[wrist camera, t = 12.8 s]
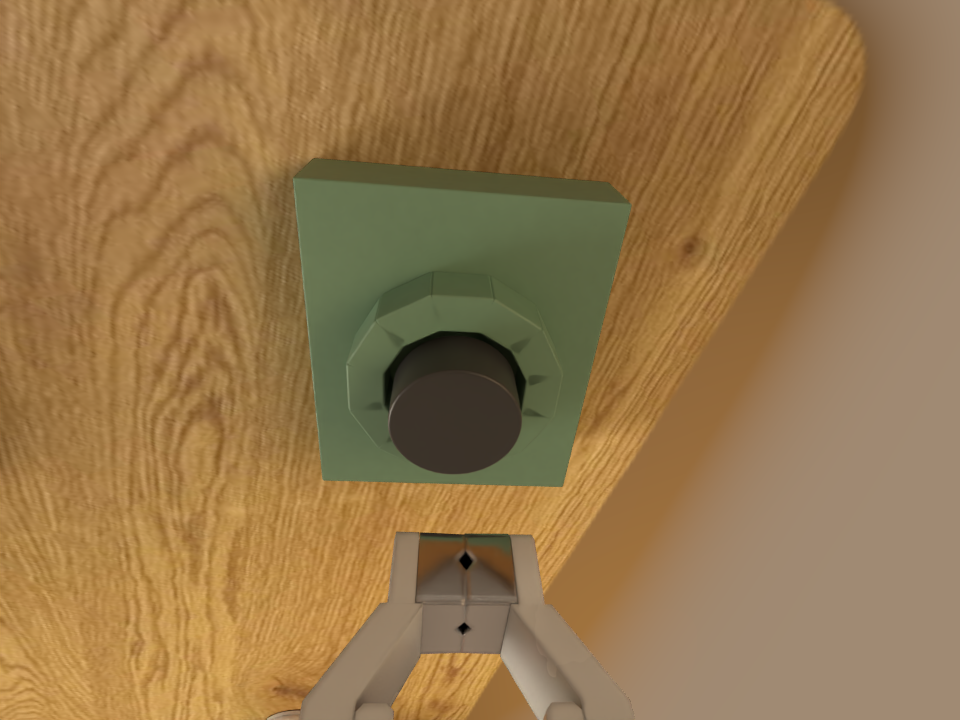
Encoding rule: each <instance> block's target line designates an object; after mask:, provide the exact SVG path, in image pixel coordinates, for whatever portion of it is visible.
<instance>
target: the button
mask: <svg viewBox="0 0 960 720" xmlns="http://www.w3.org/2000/svg"><path fill="white" fill-rule="evenodd" d="M521 427H522V414H521V408H520V403H519V398H518V393H517V387H516V382H515V377H514V373H513V370H512V368H511V366H510V364H509V363H508V361H507V359H506V358H505V357H504V356H503V355H502V354H501V353H500V352H499V351H498V350H497V349H495V348H494V347H492V346H491V345H489V344H487V343H485V342H483V341H481V340H478V339H475V338H471V337H466V336H444V337H439V338H435V339H432V340H429V341H426V342H424V343H422V344H421V345H419V346H417V347H416V348H414V349H413V350H412V351H411V352H409V353H408V354H407V355H406V356H405V358H404V359H403V360H402V361H401V363H400V365H399V366H398V368H397V371H396V373H395V377H394V382H393V388H392V395H391V401H390V407H389V413H388V430H389V434H390V437H391V439H392V441H393V444H394V445H395V447H396V448H397V450H398V451H399V452H400V453H401V454H402V455H403V456H404V457H405V458H406V459H407V460H409V461H410V462H412V463H413V464H415V465H417V466H419V467H420V468H423V469H425V470H428V471H432V472H435V473H441V474H451V475H453V474H467V473H472V472H476V471H479V470H483V469H485V468H487V467H490V466H491V465H493V464H495V463H497V462H498V461H500V460H501V459H502V458H503V457H505V456H506V455H507V454H508V453H509V452H510V450H511V449H512V448H513V446H514V445H515V443H516V442H517V439H518V437H519V435H520V431H521Z"/></svg>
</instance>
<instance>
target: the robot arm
mask: <svg viewBox="0 0 960 720" xmlns="http://www.w3.org/2000/svg"><path fill="white" fill-rule="evenodd" d="M419 535H420V540H419ZM460 652H461V653H482V654H500V657H501V658H502V660H503V662H504V664H505V665H506V667H507V669H508V670H509V672H510V673H511V675H512V677H513V679H514V680H515V682H516V684H517V685H518V687H519V689H520V690H521V692H522V694H523V695H524V697H525V699H526V701H527V702H528V704H529V705H530V707H531V709H532V711H533V712H534V714H535V716H536V717H537V719H538V720H635V717H634V713H633V709H632V705H631V701H630V699H629V698H628V697H627V696H626V694H625V693H624V692H623V691H622V690H621V688H620V687H619V686H618V685H617V683H616V682H615V681H614V680H613V679H612V678H611V676H610V675H609V674H608V673H607V671H606V670H605V669H604V668H603V667H602V665H601V664H600V663H599V662H598V660H597V659H596V658H595V657H594V656H593V654H592V653H591V652H590V651H589V649H588V648H587V647H586V646H585V645H584V644H583V642H582V641H581V640H580V639H579V638H578V636H577V635H576V634H575V633H574V631H573V630H572V629H571V628H570V626H569V625H568V624H567V623H566V622H565V620H564V619H563V618H562V617H561V616H560V614H559V613H558V612H557V611H556V610H555V608H554V607H553V606H552V605H549V604H545V603H544V597H543V591H542V584H541V578H540V572H539V566H538V560H537V554H536V548H535V541H534V538H533V537H532V535H508V534H464V535H461V534H441V533H419V532H396V535H395V539H394V548H393V557H392V566H391V575H390V584H389V593H388V602H387V603H380V604H379V605H378V607H377V608H376V609H375V610H374V612H373V613H372V614H371V615H370V617H369V618H368V619H367V620H366V622H365V623H364V624H363V626H362V627H361V628H360V629H359V631H358V632H357V633H356V634H355V636H354V637H353V638H352V639H351V641H350V642H349V643H348V644H347V646H346V647H345V648H344V649H343V651H342V652H341V653H340V655H339V656H338V657H337V658H336V660H335V661H334V662H333V663H332V665H331V666H330V667H329V668H328V670H327V671H326V672H325V673H324V675H323V676H322V677H321V679H320V680H319V681H318V682H317V684H316V685H315V686H314V687H313V689H312V690H311V691H310V692H309V694H308V695H307V696H306V697H305V699H304V700H303V702H302V706H301V710H300V715H299V719H298V720H394V711H393V710H392V709H391V705H392V704H393V702H394V700H395V699H396V697H397V695H398V694H399V692H400V690H401V689H402V687H403V685H404V683H405V682H406V680H407V678H408V677H409V675H410V673H411V672H412V670H413V668H414V667H415V665H416V663H417V662H418V660H419V658H420V654H437V653H460Z"/></svg>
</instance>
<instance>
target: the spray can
mask: <svg viewBox="0 0 960 720" xmlns="http://www.w3.org/2000/svg"><path fill="white" fill-rule="evenodd" d="M299 715H300V710H297V711H286V712H281V713H277V714H275V715H272V716H271V717H269V718H268V719H267V720H298V719H299Z"/></svg>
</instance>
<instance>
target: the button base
mask: <svg viewBox="0 0 960 720" xmlns="http://www.w3.org/2000/svg"><path fill="white" fill-rule="evenodd" d="M293 186H294V196H295V206H296V217H297V227H298V237H299V247H300V257H301V267H302V277H303V287H304V297H305V307H306V317H307V327H308V338H309V348H310V358H311V368H312V378H313V388H314V398H315V408H316V418H317V428H318V438H319V449H320V459H321V469H322V479H323V480H331V481H367V482H403V483H439V484H475V485H511V486H547V487H563V484H564V479H565V475H566V471H567V467H568V463H569V459H570V455H571V451H572V447H573V443H574V439H575V435H576V430H577V426H578V422H579V418H580V414H581V410H582V406H583V402H584V398H585V394H586V390H587V386H588V381H589V377H590V373H591V369H592V365H593V361H594V357H595V353H596V349H597V345H598V341H599V337H600V332H601V328H602V324H603V320H604V316H605V312H606V308H607V304H608V300H609V296H610V292H611V288H612V283H613V279H614V275H615V271H616V267H617V263H618V259H619V255H620V251H621V247H622V243H623V239H624V234H625V230H626V226H627V222H628V218H629V214H630V210H631V206H632V205H631V203H630V202H629V201H628V200H627V199H625V198H624V197H623V196H622V195H621V194H620V193H619V192H618V191H617V190H616V189H615V188H614V187H613V186H612V185H611V184H610V183H608V182H597V181H585V180H573V179H561V178H549V177H537V176H524V175H512V174H500V173H488V172H476V171H464V170H452V169H440V168H428V167H415V166H403V165H391V164H379V163H367V162H355V161H343V160H331V159H319V158H314V159H312V160H311V161H310V162H309V163H308V164H307V165H306V166H305V167H304V168H303V169H302V170H301V171H300V172H299V173H297V174H296V175H295V176H294V177H293ZM444 336H466V337H471V338H475V339H478V340H481V341H483V342H485V343H487V344H489V345H491V346H492V347H494V348H495V349H497V350H498V351H499V352H500V353H501V354H502V355H503V356H504V357H505V358H506V359H507V361H508V363H509V364H510V366H511V368H512V370H513V373H514V377H515V382H516V387H517V393H518V398H519V403H520V408H521V414H522V427H521V431H520V435H519V437H518V439H517V442H516V443H515V445H514V446H513V448H512V449H511V450H510V452H509V453H508V454H507V455H506V456H505V457H503V458H502V459H501V460H500V461H498V462H497V463H495V464H493V465H491V466H490V467H487V468H485V469H483V470H479V471H476V472H472V473H467V474H453V475H451V474H441V473H435V472H432V471H428V470H425V469H423V468H420V467H419V466H417V465H415V464H413V463H412V462H410V461H409V460H407V459H406V458H405V457H404V456H403V455H402V454H401V453H400V452H399V451H398V450H397V448H396V447H395V445H394V444H393V441H392V439H391V437H390V434H389V430H388V413H389V407H390V401H391V395H392V388H393V382H394V377H395V373H396V371H397V368H398V366H399V365H400V363H401V361H402V360H403V359H404V358H405V356H406V355H407V354H408V353H409V352H411V351H412V350H413V349H414V348H416V347H417V346H419V345H421V344H422V343H424V342H426V341H429V340H432V339H435V338H439V337H444Z"/></svg>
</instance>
